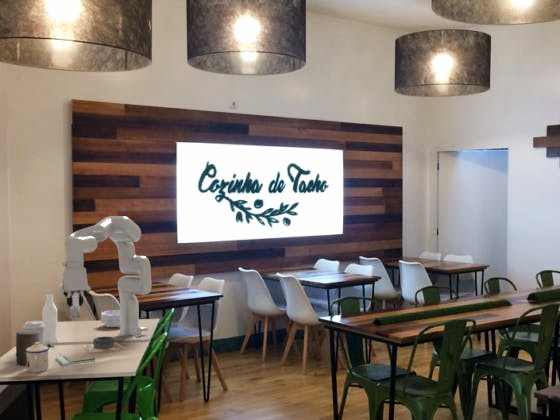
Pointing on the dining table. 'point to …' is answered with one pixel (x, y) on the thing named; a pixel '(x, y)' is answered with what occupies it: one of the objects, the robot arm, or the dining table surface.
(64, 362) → the sage pad
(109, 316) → the paper bowls
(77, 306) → the steel peg
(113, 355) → the dining table surface
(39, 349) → the teacup with lid
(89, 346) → the block
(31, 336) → the pillar candle
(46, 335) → the water bottle
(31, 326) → the coffee cup
